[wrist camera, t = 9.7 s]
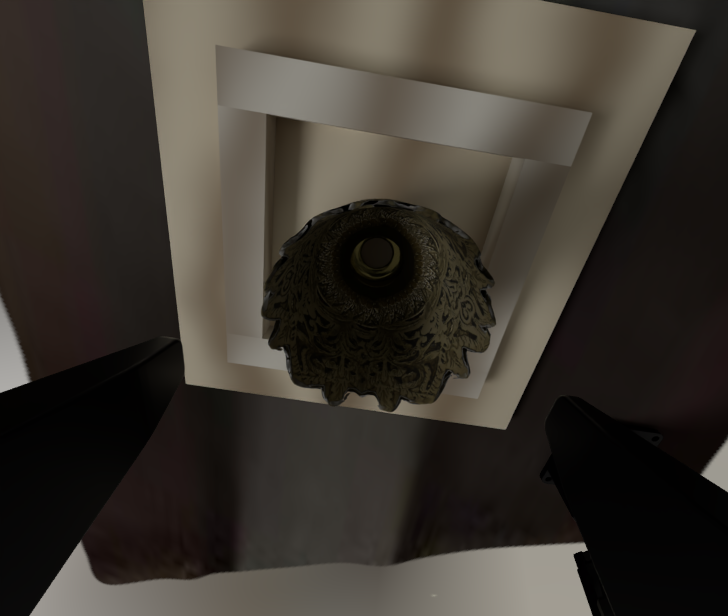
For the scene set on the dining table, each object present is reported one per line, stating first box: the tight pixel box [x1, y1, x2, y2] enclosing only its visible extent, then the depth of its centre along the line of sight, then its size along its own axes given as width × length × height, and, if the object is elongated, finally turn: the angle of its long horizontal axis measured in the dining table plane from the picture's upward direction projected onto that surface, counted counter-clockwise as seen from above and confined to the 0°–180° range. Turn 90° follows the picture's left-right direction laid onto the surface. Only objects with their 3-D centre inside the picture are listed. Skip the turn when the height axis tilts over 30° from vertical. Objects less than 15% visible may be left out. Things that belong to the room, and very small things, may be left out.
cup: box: [261, 199, 496, 412], centre depth 14 cm, size 8×7×8 cm
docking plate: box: [143, 0, 696, 430], centre depth 17 cm, size 22×22×2 cm
